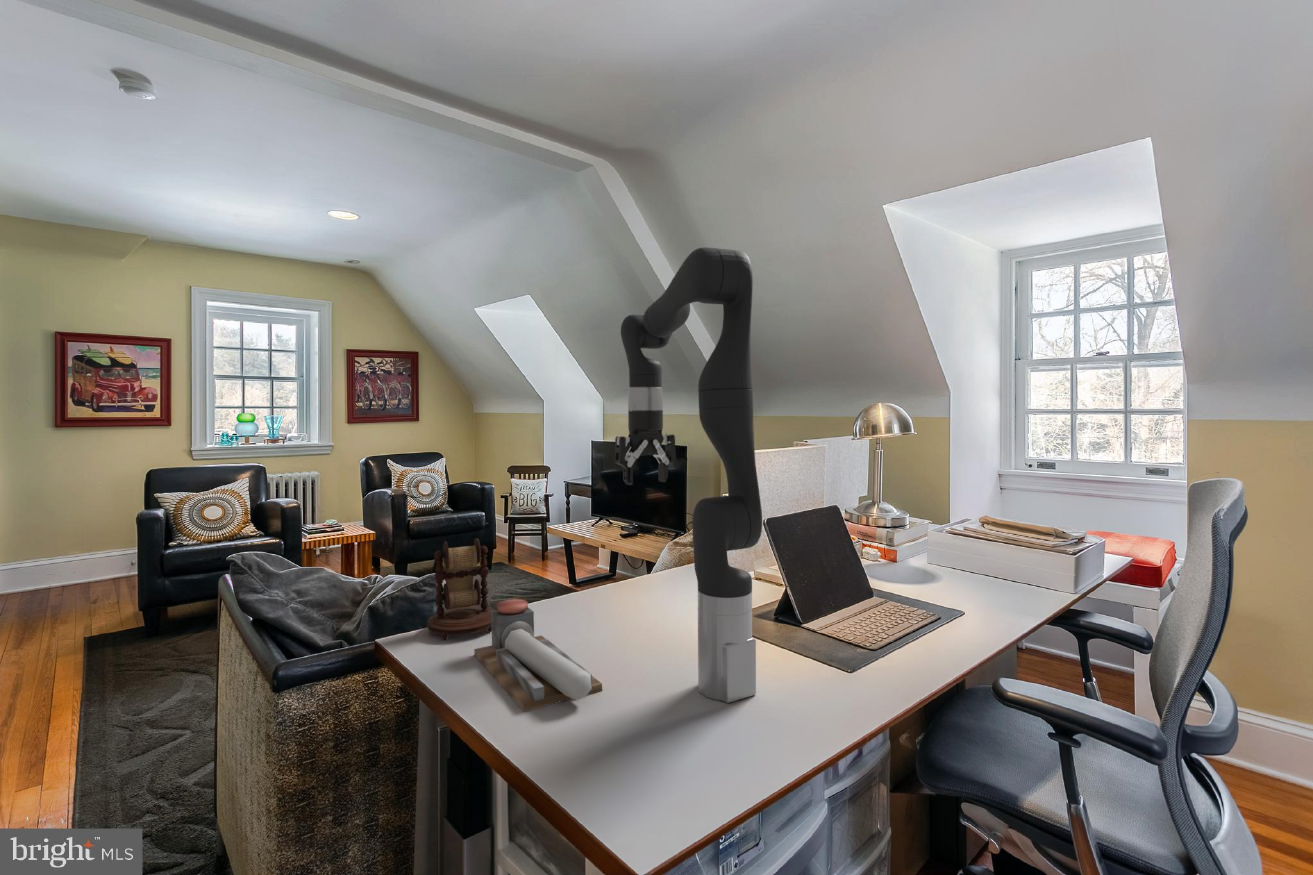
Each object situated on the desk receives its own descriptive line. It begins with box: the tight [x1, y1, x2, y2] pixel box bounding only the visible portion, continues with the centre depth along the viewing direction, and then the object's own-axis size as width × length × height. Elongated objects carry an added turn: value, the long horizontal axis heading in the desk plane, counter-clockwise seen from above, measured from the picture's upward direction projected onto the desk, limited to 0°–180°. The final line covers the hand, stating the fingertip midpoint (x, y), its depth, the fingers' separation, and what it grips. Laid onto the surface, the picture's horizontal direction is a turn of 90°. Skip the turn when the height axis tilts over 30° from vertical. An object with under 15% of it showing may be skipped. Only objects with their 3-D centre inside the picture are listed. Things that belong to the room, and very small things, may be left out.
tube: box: [505, 629, 592, 701], centre depth 113 cm, size 5×5×25 cm
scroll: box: [426, 537, 492, 642], centre depth 141 cm, size 15×15×20 cm
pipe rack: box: [473, 598, 603, 712], centre depth 118 cm, size 28×14×10 cm, turn 32°
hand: (645, 483), depth 140 cm, fingers open, 8 cm apart
